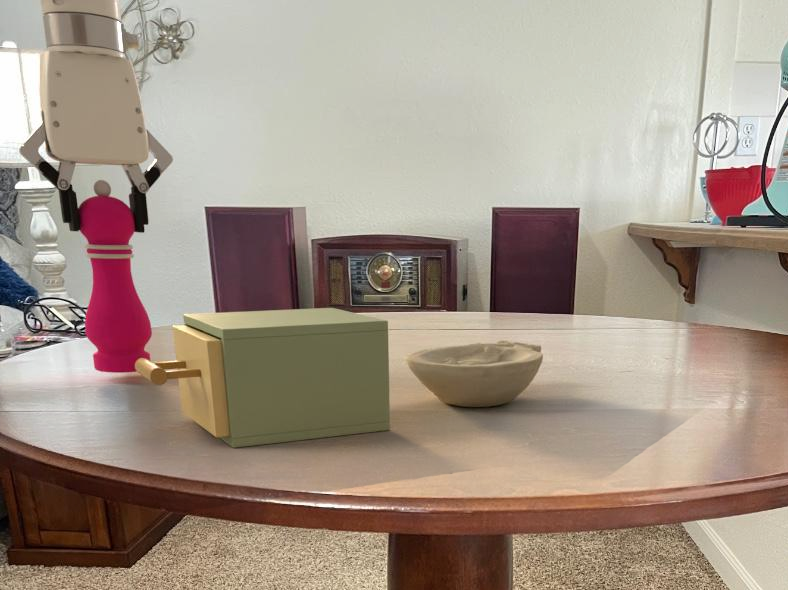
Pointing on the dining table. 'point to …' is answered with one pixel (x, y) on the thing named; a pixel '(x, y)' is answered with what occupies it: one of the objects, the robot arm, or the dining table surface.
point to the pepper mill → (112, 284)
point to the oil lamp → (477, 372)
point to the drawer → (195, 377)
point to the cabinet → (301, 373)
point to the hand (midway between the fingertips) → (107, 229)
